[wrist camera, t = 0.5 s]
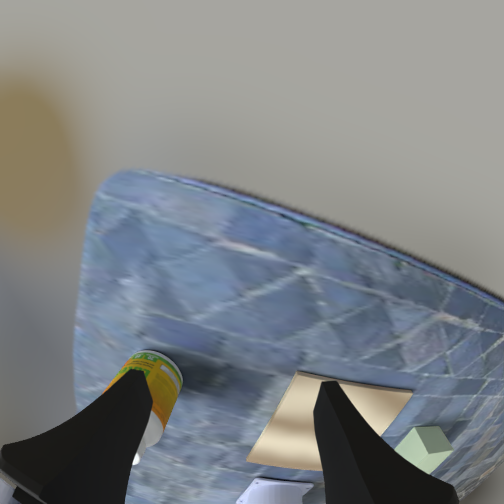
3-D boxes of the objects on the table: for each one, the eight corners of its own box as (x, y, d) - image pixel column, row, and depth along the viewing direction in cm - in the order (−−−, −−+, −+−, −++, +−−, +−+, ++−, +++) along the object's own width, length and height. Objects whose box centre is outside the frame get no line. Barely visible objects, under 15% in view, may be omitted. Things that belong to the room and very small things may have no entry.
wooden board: (346, 468, 25) (346, 471, 24) (246, 457, 24) (246, 461, 24) (410, 390, 22) (413, 393, 21) (296, 370, 21) (297, 374, 21)
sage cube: (417, 450, 24) (428, 474, 19) (391, 452, 24) (402, 479, 19) (438, 425, 23) (453, 449, 18) (413, 426, 23) (428, 454, 18)
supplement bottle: (163, 341, 21) (114, 418, 12) (194, 388, 22) (166, 471, 13) (119, 355, 22) (65, 421, 13) (149, 398, 23) (112, 469, 13)
